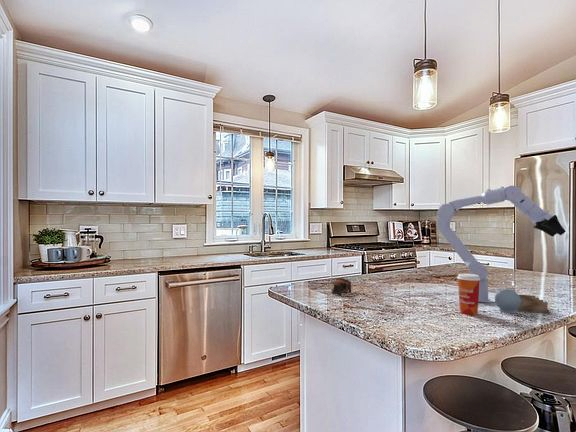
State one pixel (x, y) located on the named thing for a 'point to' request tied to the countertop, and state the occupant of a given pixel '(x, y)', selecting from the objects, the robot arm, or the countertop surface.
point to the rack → (532, 304)
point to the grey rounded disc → (507, 301)
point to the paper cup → (468, 293)
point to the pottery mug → (341, 286)
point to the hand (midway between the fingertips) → (558, 234)
